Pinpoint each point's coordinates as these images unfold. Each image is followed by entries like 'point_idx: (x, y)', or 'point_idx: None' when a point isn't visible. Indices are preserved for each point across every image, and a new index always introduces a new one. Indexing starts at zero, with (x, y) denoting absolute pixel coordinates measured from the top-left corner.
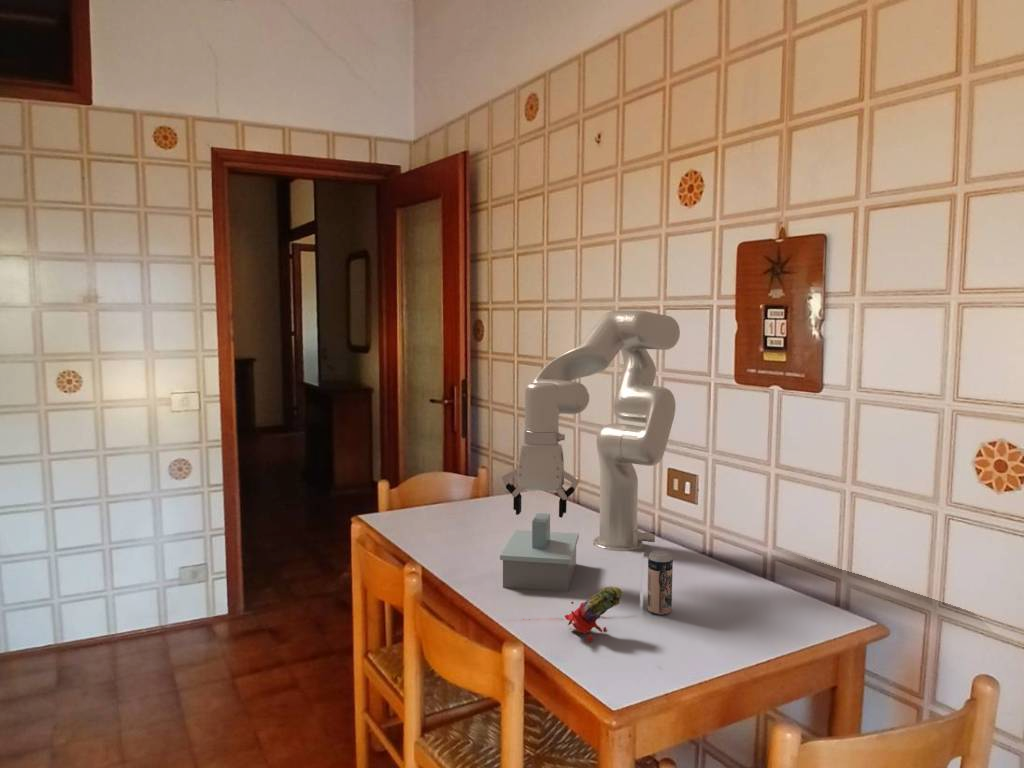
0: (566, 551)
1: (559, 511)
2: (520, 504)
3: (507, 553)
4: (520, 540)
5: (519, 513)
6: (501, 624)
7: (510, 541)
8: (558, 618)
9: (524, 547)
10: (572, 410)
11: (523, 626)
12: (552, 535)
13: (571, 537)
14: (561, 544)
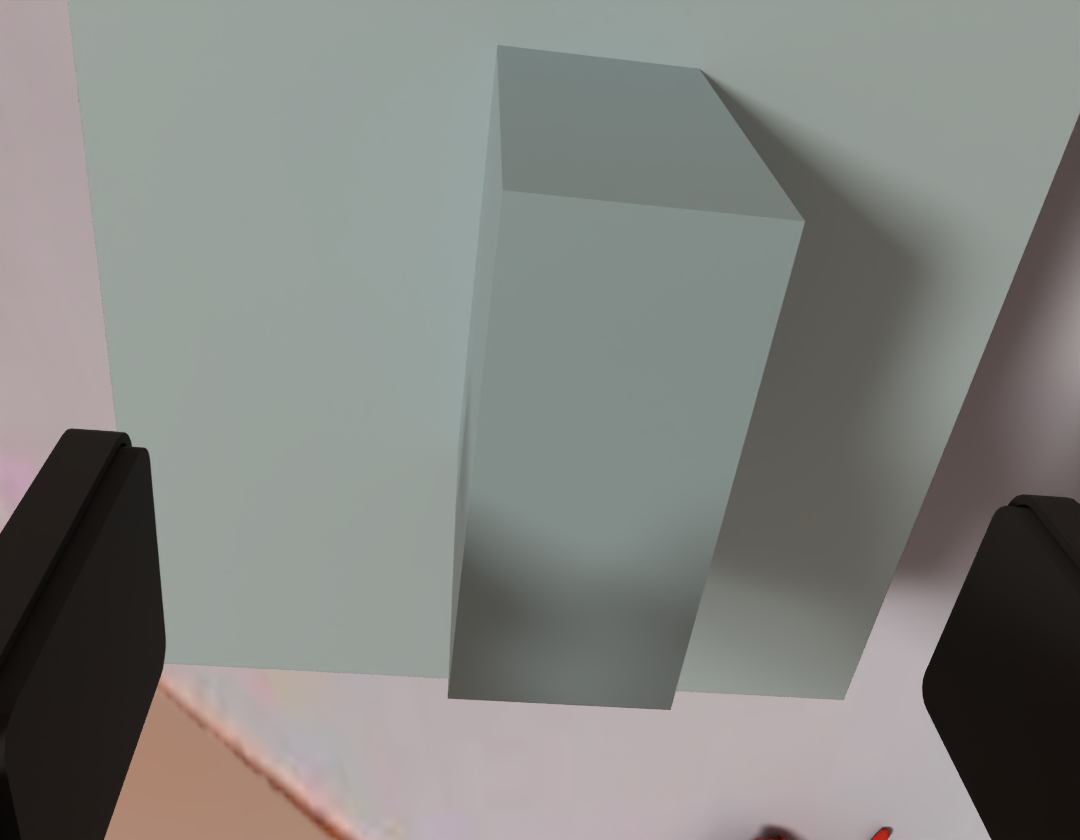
0: (852, 509)
1: (969, 774)
2: (102, 663)
3: (206, 613)
4: (253, 148)
5: (160, 614)
6: (347, 829)
7: (117, 203)
8: (654, 753)
9: (360, 427)
10: None
11: (466, 835)
12: None
13: None
14: (837, 279)
